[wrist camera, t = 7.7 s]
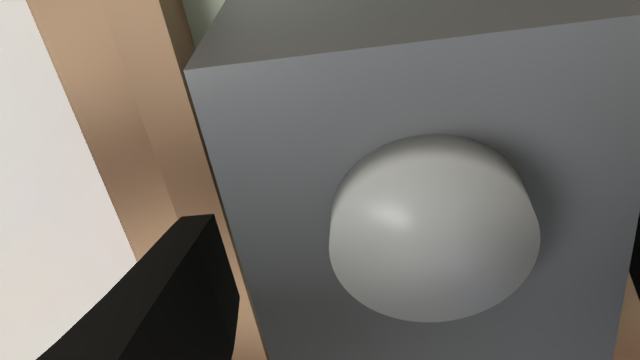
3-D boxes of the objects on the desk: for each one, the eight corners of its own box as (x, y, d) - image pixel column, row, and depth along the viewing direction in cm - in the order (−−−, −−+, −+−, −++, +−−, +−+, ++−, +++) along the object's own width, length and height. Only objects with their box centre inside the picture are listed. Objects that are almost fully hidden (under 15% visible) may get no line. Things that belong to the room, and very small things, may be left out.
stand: (665, 297, 17) (719, 391, 15) (201, 326, 19) (176, 414, 17) (811, -321, 10) (981, -358, 7) (14, -174, 11) (-90, -158, 9)
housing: (524, 297, 15) (597, 534, 10) (325, 310, 16) (311, 538, 11) (544, -88, 10) (705, 32, 5) (252, -46, 11) (168, 94, 6)
